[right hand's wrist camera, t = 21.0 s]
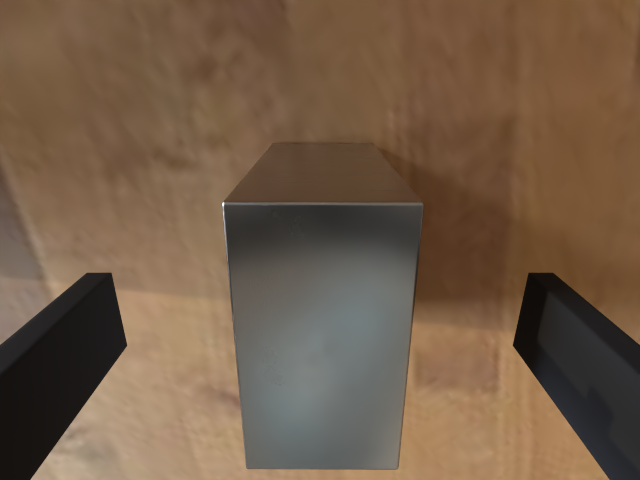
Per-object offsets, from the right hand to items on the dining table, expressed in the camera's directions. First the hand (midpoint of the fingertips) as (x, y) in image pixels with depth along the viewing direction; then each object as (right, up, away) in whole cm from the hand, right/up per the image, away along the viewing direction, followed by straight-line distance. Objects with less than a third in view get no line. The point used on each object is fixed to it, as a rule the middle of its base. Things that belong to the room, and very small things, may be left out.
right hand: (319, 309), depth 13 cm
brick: (0, +3, +8) cm, 8 cm away
